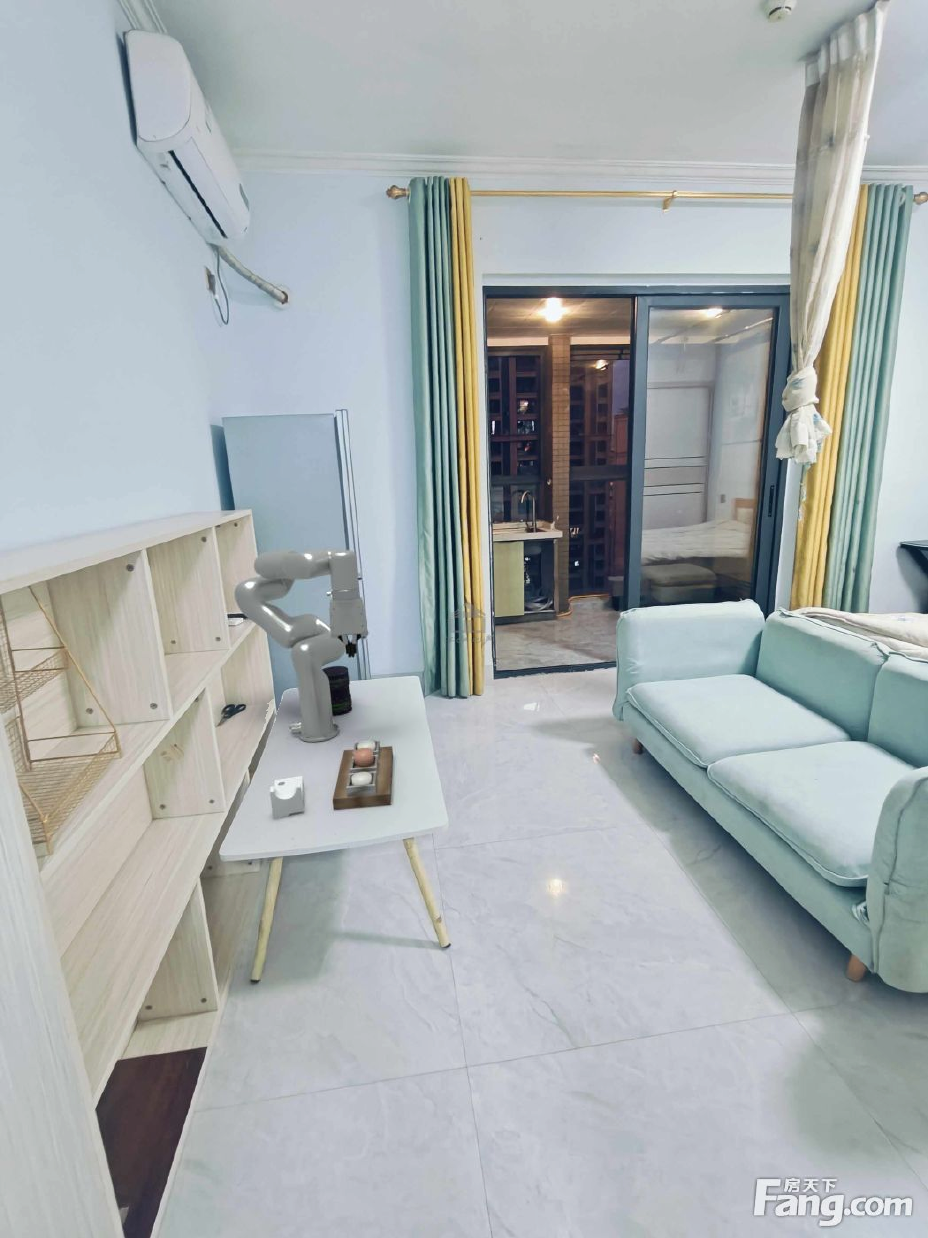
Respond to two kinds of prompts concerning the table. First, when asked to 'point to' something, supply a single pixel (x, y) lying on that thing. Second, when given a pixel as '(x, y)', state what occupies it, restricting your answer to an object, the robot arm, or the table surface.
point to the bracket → (287, 796)
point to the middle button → (363, 757)
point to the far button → (367, 745)
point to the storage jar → (339, 689)
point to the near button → (361, 779)
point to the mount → (364, 794)
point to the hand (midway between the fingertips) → (351, 656)
